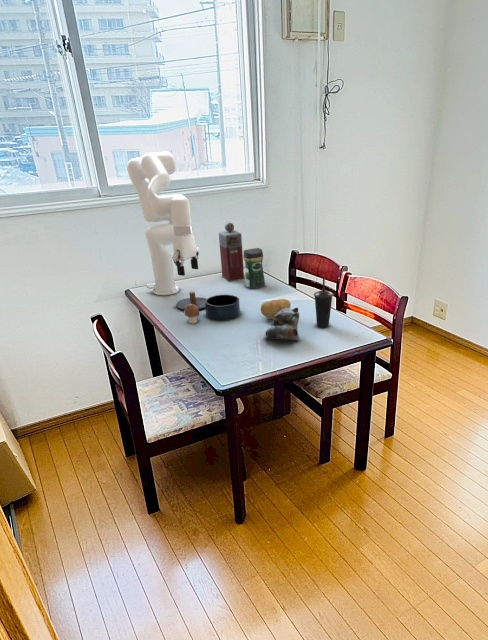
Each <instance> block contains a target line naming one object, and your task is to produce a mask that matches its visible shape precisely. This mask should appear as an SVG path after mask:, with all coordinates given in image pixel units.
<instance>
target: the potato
mask: <svg viewBox="0 0 488 640" xmlns="http://www.w3.org/2000/svg"><path fill="white" fill-rule="evenodd" d="M286 308H291V301H290V300H288V299H285V298H278V299H272V300H269V301H264V302H263V303H262V304H261V305H260V314H262V316H263V317H265V318H266V319H269V320H274V316H275V315H276V314H277V313H278V312H280V311H281V310H282V309H286Z"/></svg>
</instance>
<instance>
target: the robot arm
mask: <svg viewBox="0 0 488 640" xmlns="http://www.w3.org/2000/svg"><path fill="white" fill-rule="evenodd" d="M126 168H127V173H128V177H129V179H130V181H131V184H132V185H133V187H134V189H135V191H136V194H137V196H138V200H139V204H140V208H141V211H142V214H143V218H144V220H145V221H146V222H147V223H160V222H168V223H160V224H153V225H151V226H147V227H146V229H145V232H144V234H145V239H146V242H147V245H148V249H149V253H150V260H151V265H152V271H153V272H152V273H153V277H154V282H153V283H146V286H145V287H146V288H147V289H149V290H152V289H153V291H152V292H153V294H155V295H157V296H171V295H175V294H177V293H179V291H180V287H179V286H178V285H176V280H175V279H176V278H175V273H174V264H175V266H176V270H177V276H182V277H184V276H186V272H185V271H186V270H185V265H184V262H185V261H187V260H189V259H190V265H191V266H190V267H191V269H192V270H199V261H198V260H199V252H200V247H199V246H197V244H196V239H195V235H194V230H193V222H192V214H191V205H190V200H189V198H188V197H186V196H185V195H184V194H181V193H176V194H165V195H160V194H161V193H162V192H164V191H166V190H167V189H168V188H169V187H170V185H171V182H172V180H171V176H170V175H172V174H174V173H175V172H176V170H177V162H176V159H175V157H174V155H173V154H172V153H170V152H169V151H160V152H159V151H158V152H156V151H155V152H148V153H145V154H143V155H142V156H141V157H134V158H131V159H130V160H129V161H128V162H127V166H126ZM171 245H172V246H173V247H172V248H173V255H172V254H171V252H170V251H169V250H168V249H167V248H166V246H171ZM173 263H174V264H173Z"/></svg>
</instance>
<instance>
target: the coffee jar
mask: <svg viewBox="0 0 488 640" xmlns="http://www.w3.org/2000/svg"><path fill="white" fill-rule="evenodd" d="M263 253H264V252H263V249H262V248H260V247H255V248H248V249H244V250H243V262H244V264H245V269H244V285H245V287H246V288H248V289H258V288H262V287H264V286H266V280H265V274H264V267H263V261H264V254H263Z"/></svg>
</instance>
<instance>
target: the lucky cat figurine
mask: <svg viewBox="0 0 488 640" xmlns="http://www.w3.org/2000/svg"><path fill="white" fill-rule="evenodd" d="M299 319H300V312H299V307H294V308H291V307H290V308H286V309H282V310H281V311H280V312H278V313H277V314H276V315H275V316H274V319H273V321H272V324H271V325H270V326H269V327H268V328H267V329H266V331H265V332H264V333H265V334H264V335H265V336H264V337H263V340H264V339H265V340H266V341H267V340H287V341H295V342H297V341H298V340H299V338H300V336H299V335H300V334H299V329H298V324H299Z"/></svg>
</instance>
